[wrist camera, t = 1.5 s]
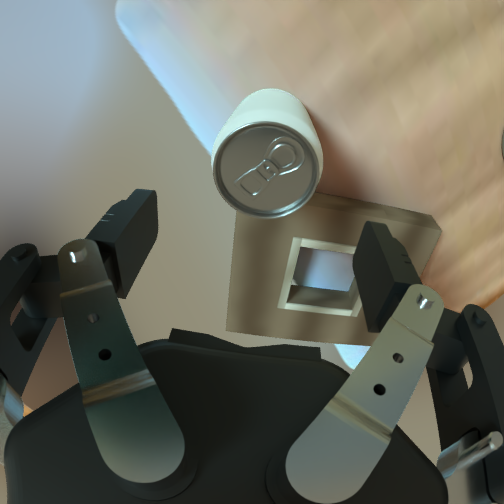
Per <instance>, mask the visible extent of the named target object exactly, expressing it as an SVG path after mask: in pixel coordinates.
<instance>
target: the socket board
mask: <svg viewBox="0 0 504 504" xmlns="http://www.w3.org/2000/svg"><path fill="white" fill-rule="evenodd" d="M366 221H374V222H379V223H384V224H386V225H387V227H388V229H389V231H390V233H391V235H392V237H393V238H396V239H397V240H398V241H399V242H400V243H401V244H402V245H403V246H404V247H405V249H406V251H407V253H408V255H409V256H408V257H410V259H411V261H412V264H413V265H414V267H415V269H416V272H417V274H418V276H419V278H420V276H421V274H422V272H423V270H424V268H425V266H426V264H427V262H428V260H429V258H430V256H431V254H432V252H433V250H434V247H435V245H436V243H437V241H438V239H439V237H440V234H441V232H442V230H441V228H440V227H439V226H438V224H437V223H436V221H435V220H434V219H433V217H432V216H431V215H427V214H422V213H418V212H414V211H409V210H405V209H400V208H395V207H390V206H386V205H381V204H376V203H371V202H366V201H360V200H355V199H350V198H344V197H339V196H333V195H327V194H322V193H316V192H314V194H313V196H312V197H311V198H310V200H309V201H308V202H307V203H306V204H305V205H304V206H303V207H302V208H300V209H299V210H298V211H296V212H294V213H292V214H290V215H288V216H285V217H281V218H277V219H258V218H253V217H250V216H247V215H244V214H242V213H240V212H238V211H237V212H236V222H235V232H234V243H233V254H232V264H231V276H230V287H229V298H228V310H227V322H226V331H230V332H237V333H244V334H252V335H259V336H267V337H275V338H284V339H294V340H303V341H314V342H323V343H335V344H348V345H363V346H372V344H373V343H374V341H375V340H376V338H377V337H378V335H379V334H380V333H371V332H368V329H367V324H366V320H365V316H364V311H363V307H362V303H361V299H360V295H359V291H358V287H357V283H356V279H355V277H354V279H353V282H352V284H351V287H350V289H349V292H345V291H337V290H329V289H321V288H313V287H305V286H297V285H291V282H292V278H293V274H294V270H295V266H296V262H297V258H298V254H299V250H300V246H301V247H308V248H315V249H321V250H328V251H335V252H342V253H349V254H354V253H355V250H356V247H357V244H358V241H359V238H360V236H361V233H362V230H363V227H364V224H365V223H366Z"/></svg>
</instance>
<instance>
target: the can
mask: <svg viewBox="0 0 504 504" xmlns="http://www.w3.org/2000/svg"><path fill="white" fill-rule="evenodd" d="M211 163H212V170H213V176H214V181H215V184H216V187H217V189H218V191H219V193H220V195H221V196H222V197H223V199H224V200H225V201H226V202H227V203H228V204H229V205H230V206H231V207H233V208H234V209H235V210H237V211H238V212H240V213H242V214H244V215H247V216H250V217H253V218H258V219H277V218H281V217H285V216H288V215H290V214H292V213H294V212H296V211H298V210H299V209H300V208H302V207H303V206H304V205H305V204H306V203H307V202H308V201H309V200H310V198H311V197H312V196H313V194H314V192H315V190H316V188H317V185H318V183H319V180H320V178H321V175H322V170H323V152H322V148H321V144H320V141H319V138H318V136H317V133H316V131H315V128H314V126H313V124H312V121H311V119H310V117H309V114H308V112H307V110H306V108H305V107H304V105H303V104H302V103H301V102H300V101H299V100H298V99H297V98H296V97H294V96H293V95H291V94H290V93H288V92H286V91H283V90H280V89H263V90H259V91H256V92H254V93H252V94H250V95H249V96H247V97H246V98H245V99H244V100H243V101H242V102H241V103H240V105H239V106H238V107H237V108H236V110H235V111H234V112H233V114H232V115H231V116H230V118H229V119H228V120H227V122H226V123H225V125H224V126H223V127H222V129H221V130H220V132H219V134H218V136H217V138H216V140H215V142H214V146H213V150H212V157H211Z"/></svg>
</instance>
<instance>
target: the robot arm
mask: <svg viewBox="0 0 504 504" xmlns="http://www.w3.org/2000/svg"><path fill="white" fill-rule="evenodd" d="M502 152H503V157H504V132H503V137H502ZM157 234H158V211H157V195H156V192H155V190H145V189H136V190H135V191H134V192H133V193H132V194H131V195H130V196H129V197H128V199H127V200H121V201H120V202H118V203H116V204H114V205H113V206H112V207H111V208H110V209H109V210H108V211H107V212H106V215H104V216H103V217H102V218H101V221H99V222H98V223H97V224H96V225H95V227H94V228H93V229H92V230H91V231H90V233H89V234H88V235H87V237H86V238H85V239H76V240H73V241H70V242H68V243H66V244H65V245H64V246H63V247H61V248H60V250H59V252H58V254H57V255H49V256H39V253H38V250H37V248H36V246H35V245H33V244H29V243H25V244H20V245H17V246H15V247H13V248H11V249H10V250H9V251H8V252H7V253H6V254H5V255H4V256H3V257H2V259H1V260H0V464H1V465H3V466H4V468H5V474H6V482H7V504H504V345H503V343H502V341H501V339H500V336H499V334H498V331H497V329H496V327H495V325H494V322H493V320H492V318H491V317H490V315H489V314H488V313H487V312H486V311H485V310H484V309H483V308H481V307H479V306H477V305H474V304H468V305H466V306H465V308H464V309H463V310H462V312H461V313H457V312H454V311H452V310H449V309H446V308H444V303H443V300H442V298H441V297H440V296H439V294H438V293H437V292H436V291H434V290H433V289H431V288H430V287H428V286H425V285H423V284H422V282H421V280H420V278H419V276H418V274H417V272H416V269H415V267H414V265H413V264H412V261H411V259H410V257H408V256H409V255H408V253H407V251H406V249H405V247H404V246H403V245H402V244H401V243H400V242H399V241H398V240H397V239H396V238H393V237H392V235H391V233H390V231H389V229H388V227H387V225H386V224H384V223H379V222H374V221H366V223H365V224H364V227H363V230H362V233H361V236H360V238H359V241H358V244H357V247H356V250H355V253H354V256H353V271H354V275H355V279H356V283H357V287H358V291H359V295H360V299H361V303H362V307H363V311H364V316H365V320H366V324H367V329H368V332H371V333H380V334H379V335H378V337H377V338H376V340H375V341H374V343H373V344H372V346H371V347H370V349H369V350H368V351H367V353H366V354H365V356H364V357H363V359H362V360H361V361H360V363H359V364H358V366H357V367H356V368H355V370H354V371H353V372H352V374H351V375H350V374H349V373H348V372H346V371H345V370H344V369H342V368H341V367H339V366H337V365H335V364H333V363H331V362H329V361H326V360H324V359H321V352H320V347H308V346H298V345H288V344H282V345H271V346H261V347H248V348H247V347H242V346H239V345H236V344H233V343H231V342H228V341H225V340H222V339H219V338H217V337H214V336H211V335H209V334H204V333H197V332H192V331H186V330H180V329H174V328H172V330H171V333H170V336H169V339H160V340H154V341H150V342H146V343H143V344H140V345H138V346H137V345H136V342H135V340H134V338H133V335H132V333H131V331H130V328H129V326H128V323H127V321H126V319H125V316H124V314H123V311H122V309H121V306H120V303H119V301H118V298H122V299H126V297H127V295H128V292H129V291H130V289H131V287H132V285H133V283H134V281H135V279H136V277H137V275H138V273H139V271H140V269H141V267H142V265H143V264H144V262H145V260H146V258H147V256H148V254H149V252H150V250H151V249H152V247H153V245H154V243H155V241H156V238H157ZM18 301H20V303H21V306H22V309H21V310H20V312H19V314H18V315H17V317H16V319H15V320H14V322H13V324H12V326H11V325H10V317H11V313H12V311H13V310H14V308H15V306H16V304H17V303H18ZM58 317H63V318H64V323H65V328H66V333H67V337H68V342H69V346H70V350H71V355H72V358H73V362H74V366H75V370H76V373H77V377H78V381H79V383H77V384H76V385H74V386H72V387H71V388H69V389H68V390H66V391H65V392H63V393H62V394H60V395H58V396H57V397H55V398H54V399H52V400H50V401H49V402H48V403H46V404H44V405H42V406H41V407H39V408H38V409H36V410H35V411H33V412H31V413H30V414H28V415H26V416H25V417H24V416H23V412H24V405H23V401H22V398H21V396H22V393H23V391H24V389H25V386H26V384H27V382H28V379H29V377H30V374H31V372H32V370H33V368H34V366H35V363H36V361H37V359H38V357H39V354H40V352H41V350H42V348H43V346H44V344H45V342H46V340H47V338H48V336H49V334H50V332H51V330H52V328H53V326H54V324H55V322H56V320H57V318H58ZM468 361H469V364H470V367H471V370H472V374H473V381H472V385H471V387H470V388H469V389H468V385H467V382H466V378H465V375H464V371H463V367H464V365H465V364H466V363H467V362H468ZM425 366H426V369H427V373H428V378H429V382H430V387H431V392H432V397H433V402H434V407H435V413H436V419H437V424H438V431H439V438H440V445H441V454H440V455H439V457H438V460H437V467H436V466H435V465H434V464H433V463H432V462H431V461H430V460H429V459H428V458H427V457H426V455H425V454H424V453H423V452H422V451H421V450H420V449H419V448H418V447H417V446H416V445H415V444H414V442H413V441H412V440H411V439H410V438H409V437H408V436H407V435H406V434H405V433H404V432H403V431H402V430H401V428H400V427H399V426H398V425H397V422H398V421H399V419H400V417H401V415H402V413H403V411H404V409H405V407H406V405H407V404H408V402H409V399H410V397H411V396H412V394H413V391H414V390H415V387H416V385H417V383H418V381H419V379H420V377H421V375H422V372H423V370H424V368H425Z"/></svg>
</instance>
